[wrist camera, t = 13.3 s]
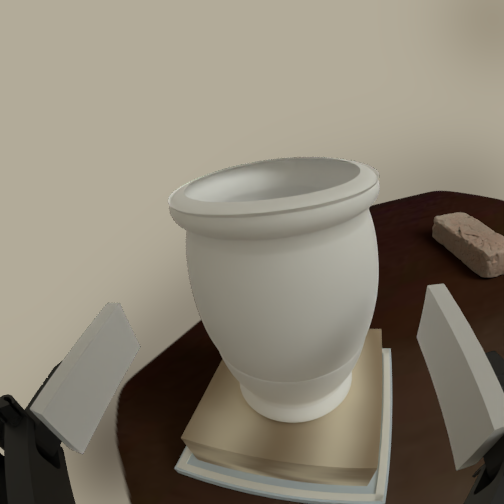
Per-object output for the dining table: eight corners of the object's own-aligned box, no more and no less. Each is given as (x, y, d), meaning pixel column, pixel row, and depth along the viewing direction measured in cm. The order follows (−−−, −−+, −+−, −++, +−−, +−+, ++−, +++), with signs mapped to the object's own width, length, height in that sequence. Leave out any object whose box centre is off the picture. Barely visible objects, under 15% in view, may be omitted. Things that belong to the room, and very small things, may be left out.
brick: (429, 237, 47) (431, 213, 45) (461, 231, 47) (464, 208, 45) (483, 285, 32) (490, 256, 30) (515, 273, 32) (522, 246, 30)
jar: (393, 382, 18) (422, 169, 12) (272, 465, 15) (210, 237, 8) (309, 316, 27) (293, 150, 21) (207, 366, 23) (149, 187, 17)
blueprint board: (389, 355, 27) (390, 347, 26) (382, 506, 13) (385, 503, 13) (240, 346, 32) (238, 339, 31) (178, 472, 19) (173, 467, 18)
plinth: (376, 359, 25) (381, 329, 24) (367, 486, 15) (377, 468, 13) (247, 351, 30) (241, 322, 28) (197, 459, 19) (180, 437, 17)
